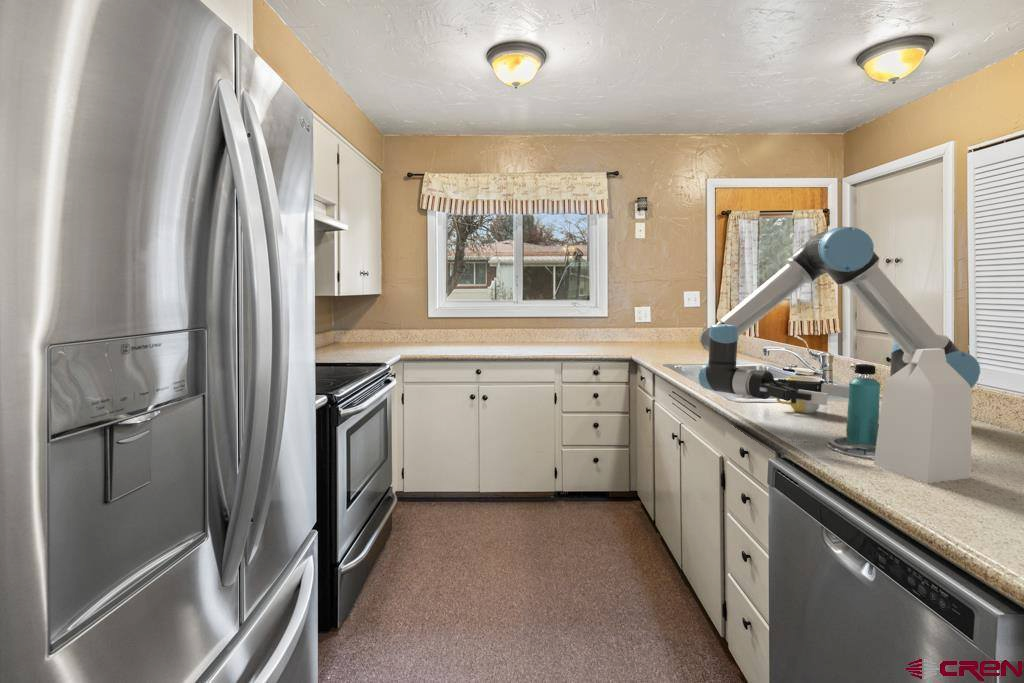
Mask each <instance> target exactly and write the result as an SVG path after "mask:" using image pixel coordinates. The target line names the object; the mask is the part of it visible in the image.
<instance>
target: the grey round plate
mask: <svg viewBox="0 0 1024 683" xmlns="http://www.w3.org/2000/svg"><path fill="white" fill-rule="evenodd" d="M826 445H827V448H828V447H829V448H828V449H830V450H831V449H832V451H834V452H836V451H837V452H836V453H839V452H840V454H842V453H843V455H846V454H847V456H850V455H852V457H855V456H858V458H862V457H865V458H864V459H870V458H875V450H876V444H873V445H866V444H858V443H854V442H850V441H848V440H847V436H835V437H831V438H829V439H828V440H827V444H826Z"/></svg>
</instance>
